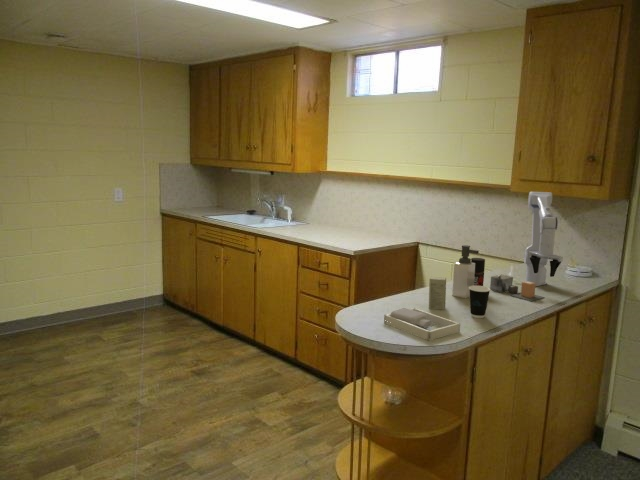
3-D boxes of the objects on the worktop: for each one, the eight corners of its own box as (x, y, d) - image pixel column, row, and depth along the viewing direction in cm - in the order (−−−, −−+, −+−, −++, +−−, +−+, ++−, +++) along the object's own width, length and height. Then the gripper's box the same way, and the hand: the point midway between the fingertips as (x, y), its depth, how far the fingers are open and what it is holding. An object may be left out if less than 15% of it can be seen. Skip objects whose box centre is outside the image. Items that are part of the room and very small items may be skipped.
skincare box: (445, 307, 210) (447, 277, 208) (444, 310, 206) (446, 280, 204) (429, 305, 212) (430, 276, 210) (427, 308, 208) (429, 278, 206)
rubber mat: (523, 292, 234) (523, 291, 234) (544, 298, 226) (544, 297, 226) (510, 296, 228) (510, 295, 228) (531, 301, 220) (531, 300, 220)
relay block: (526, 294, 230) (527, 280, 228) (534, 296, 226) (535, 282, 225) (520, 295, 227) (521, 282, 226) (529, 297, 224) (530, 284, 223)
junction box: (500, 286, 244) (501, 272, 243) (513, 289, 238) (514, 275, 237) (488, 289, 239) (489, 275, 238) (501, 292, 233) (502, 278, 232)
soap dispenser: (470, 299, 221) (474, 248, 218) (452, 295, 227) (455, 245, 224) (478, 296, 226) (481, 246, 222) (459, 292, 232) (462, 244, 228)
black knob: (511, 291, 236) (512, 284, 236) (519, 293, 233) (520, 286, 233) (506, 292, 234) (506, 285, 234) (514, 294, 231) (514, 287, 230)
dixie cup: (471, 319, 195) (473, 291, 193) (463, 313, 202) (465, 285, 201) (491, 319, 195) (494, 290, 193) (483, 312, 203) (485, 285, 201)
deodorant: (481, 290, 237) (483, 257, 234) (483, 293, 231) (486, 260, 228) (467, 289, 237) (470, 257, 235) (470, 293, 231) (472, 260, 229)
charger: (425, 335, 177) (389, 324, 188) (439, 329, 184) (404, 319, 194) (426, 322, 177) (390, 312, 187) (440, 316, 183) (405, 307, 193)
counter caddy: (414, 315, 198) (414, 307, 198) (459, 331, 181) (460, 323, 180) (383, 322, 189) (384, 314, 188) (429, 340, 172) (429, 332, 171)
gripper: (526, 242, 229) (523, 272, 232) (557, 247, 218) (554, 279, 220) (535, 241, 234) (532, 270, 236) (566, 246, 222) (563, 277, 224)
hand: (543, 274), depth 228 cm, fingers open, 7 cm apart
